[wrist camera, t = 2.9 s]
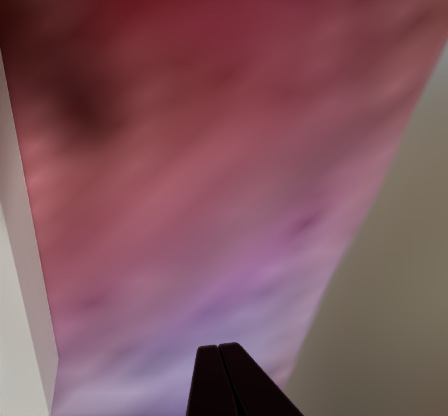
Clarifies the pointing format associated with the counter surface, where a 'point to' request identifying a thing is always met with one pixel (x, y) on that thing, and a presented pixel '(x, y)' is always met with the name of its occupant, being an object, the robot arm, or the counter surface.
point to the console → (21, 288)
